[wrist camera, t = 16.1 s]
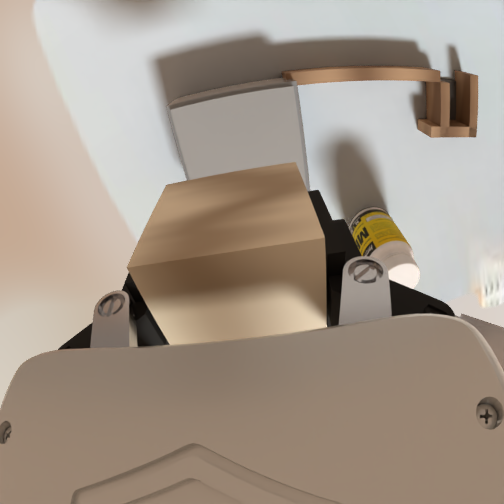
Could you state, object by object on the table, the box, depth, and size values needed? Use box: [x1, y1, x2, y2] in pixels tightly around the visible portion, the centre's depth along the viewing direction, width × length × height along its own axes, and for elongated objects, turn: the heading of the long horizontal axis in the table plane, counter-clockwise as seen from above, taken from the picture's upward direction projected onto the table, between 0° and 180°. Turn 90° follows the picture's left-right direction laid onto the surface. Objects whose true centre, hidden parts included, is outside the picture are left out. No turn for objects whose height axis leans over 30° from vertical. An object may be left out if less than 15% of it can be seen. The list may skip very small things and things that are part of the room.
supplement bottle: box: [349, 207, 420, 289], centre depth 27 cm, size 5×5×8 cm
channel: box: [282, 66, 478, 138], centre depth 18 cm, size 18×16×2 cm
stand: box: [166, 78, 310, 191], centre depth 23 cm, size 9×9×4 cm
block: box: [127, 162, 327, 345], centre depth 11 cm, size 5×5×5 cm
